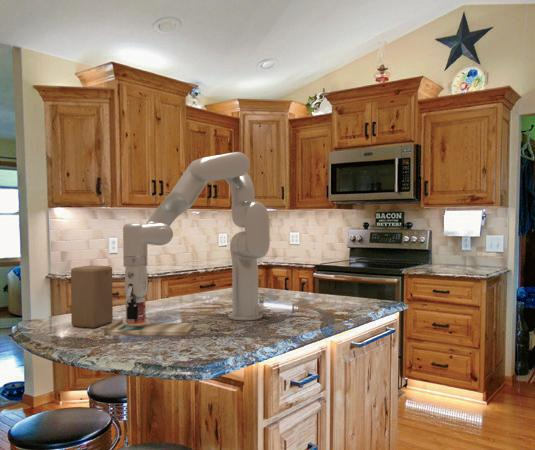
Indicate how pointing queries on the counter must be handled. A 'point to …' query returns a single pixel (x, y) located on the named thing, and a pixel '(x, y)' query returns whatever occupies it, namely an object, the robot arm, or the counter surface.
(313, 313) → the counter surface
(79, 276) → the wooden block
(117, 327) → the board
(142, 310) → the pill bottle
